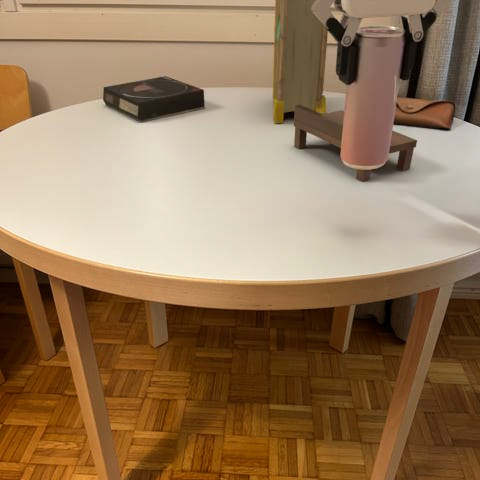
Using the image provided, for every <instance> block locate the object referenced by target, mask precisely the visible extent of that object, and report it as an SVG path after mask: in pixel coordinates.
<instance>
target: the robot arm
mask: <svg viewBox="0 0 480 480" xmlns="http://www.w3.org/2000/svg"><path fill="white" fill-rule="evenodd" d="M452 1H453V0H316V1H315V2H314V3H313V5H312V7H311V10H312V12H313V13H314V15H315V16H316V17H317V18H318V19H319V20H320V22H321V23H322V24H323V25H324V27H325V28H326V29H327V30H328V34H330V35H331V36H332V38H333V39H334V41H335V42H337V47H336V60H335V74H336V76H338V80H339V81H340V82H342V83H343V84H344V85H345V86H347V85H351V84H352V83H353V79H354V69H355V59H356V47H355V46H354V45H353V39H354V36H355V34H356V32H357V30H358V28H359V27H360V25H361V23H362V20H363V19H372V18H389V17H399V23H400V28H402V29H404V30H405V33H404V38H405V47H404V54H403V61H402V67H401V74H400V80H401V81H409V79H410V74H411V71H413V68H414V67H415V66H414V65H415V59H416V54H417V53H416V52H417V47H418V42H420V41H422V39H423V37H424V34H425V33H426V32H427V31H428V30H429V29H430V28H431V26H433V25H434V24H435V22H436V21H437V18H438V17H441V15H442V14H443V13H444V12H445V11H446V10H447V9H448V8H449V6H450V5H451V4H452ZM332 5H333V6H334V8H335V10H336V11H338V12H341V13H342V14H341V17H340V20H339V19H337V18H336V17H335V16H334V14H333V13H332V12H331V7H332Z"/></svg>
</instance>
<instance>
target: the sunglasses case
mask: <svg viewBox="0 0 480 480" xmlns="http://www.w3.org/2000/svg"><path fill="white" fill-rule="evenodd" d="M455 113H456V104H455V102H453V101H450V100H430V99H421V98H411V97H399V96H397V102H396V108H395V115H394V122H393V125H400V126H401V125H402V126H409V127H416V128H426V129H448V130H449V129H451V128H452V126H453V123H454V118H455Z"/></svg>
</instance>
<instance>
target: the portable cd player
mask: <svg viewBox="0 0 480 480" xmlns="http://www.w3.org/2000/svg"><path fill="white" fill-rule="evenodd" d="M102 101H103V102H104V104H105V106H107V107H109V108H111V109H112V110H115V111H117V112H119V113H120V114H123V115H125V116H127V117H129V118H131V119H133V120H135V121H137V122H138V123H145V122H149V120H150V121H154V120H158V119H159V120H160V119H163V118H168V117H172V116H177V115H181V114H185V113H186V114H187V113H190V112H195V111H199V110H203V109H206V107H205V106H206V105H205V104H206V103H205V90H204V88H200V87H197V86H195V85H192V84H188V83H186V82H183V81H180V80H178V79H175V78H172V77H170V76H166V75H164V76H158V77H154V78H153V77H152V78H147V79H142V80H136V81H131V82H125V83H119V84H114V85H113V84H112V85H108V86H103V94H102Z"/></svg>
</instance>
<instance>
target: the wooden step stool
mask: <svg viewBox="0 0 480 480" xmlns="http://www.w3.org/2000/svg"><path fill="white" fill-rule="evenodd" d="M293 113H294V116H293V127H294V140H293V141H294V142H293V147H294V148H296V149H299V150H300V149H301V150H302V149H305V148H306V147H307V133H308V134H310V135H312V136H315V137H316V138H318V139H321V140H323V141H325V142H327V143H329V144H331V145H333V146H336V147H338V148H340V149H341V143H342V132H343V121H344V110H342V109H341V110H336V111H331V112H326V113H325V114H321V113H318V112H316V111H314V110H311V109H309V108H306V107H304V106H302V105H297V106H295V111H294V112H293ZM417 144H418V140H417V139H415V138H413V137H410V136H407V135H405V134H403V133H401V132H397V131H395V130H392V136H391V143H390V149H389V155H390V154H394V153H398V158H397V163H396V169H398V168H399V169H398V170H400V169H401V170H400V171H402V170H404V171H407V170H406V169H408V170H410V169H411V166H412V160H413V155H414V149H415V148H416V147H417ZM409 168H410V169H409ZM371 171H372V169H369V170H362V169H356V175H355V179H356V180H358V181H360V182H366V181H370V179H371V174H372V173H371Z"/></svg>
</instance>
